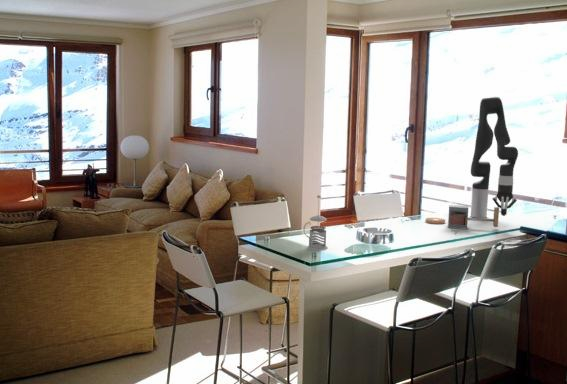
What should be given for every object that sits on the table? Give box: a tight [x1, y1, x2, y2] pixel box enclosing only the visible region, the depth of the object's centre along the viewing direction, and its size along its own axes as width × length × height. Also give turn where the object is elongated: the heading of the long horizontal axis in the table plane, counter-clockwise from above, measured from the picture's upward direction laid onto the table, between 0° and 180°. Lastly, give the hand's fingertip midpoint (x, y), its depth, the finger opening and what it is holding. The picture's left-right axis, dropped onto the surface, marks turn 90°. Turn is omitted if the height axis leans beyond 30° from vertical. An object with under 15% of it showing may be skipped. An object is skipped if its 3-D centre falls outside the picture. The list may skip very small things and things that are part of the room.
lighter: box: [450, 211, 466, 225], centre depth 366 cm, size 8×3×10 cm, turn 84°
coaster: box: [424, 217, 446, 225], centre depth 380 cm, size 11×11×2 cm
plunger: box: [465, 206, 500, 228], centre depth 363 cm, size 6×17×12 cm, turn 77°
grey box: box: [447, 204, 469, 230], centre depth 366 cm, size 7×10×12 cm, turn 77°
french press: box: [303, 194, 329, 251], centre depth 310 cm, size 10×12×25 cm
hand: (503, 215), depth 360 cm, fingers closed
